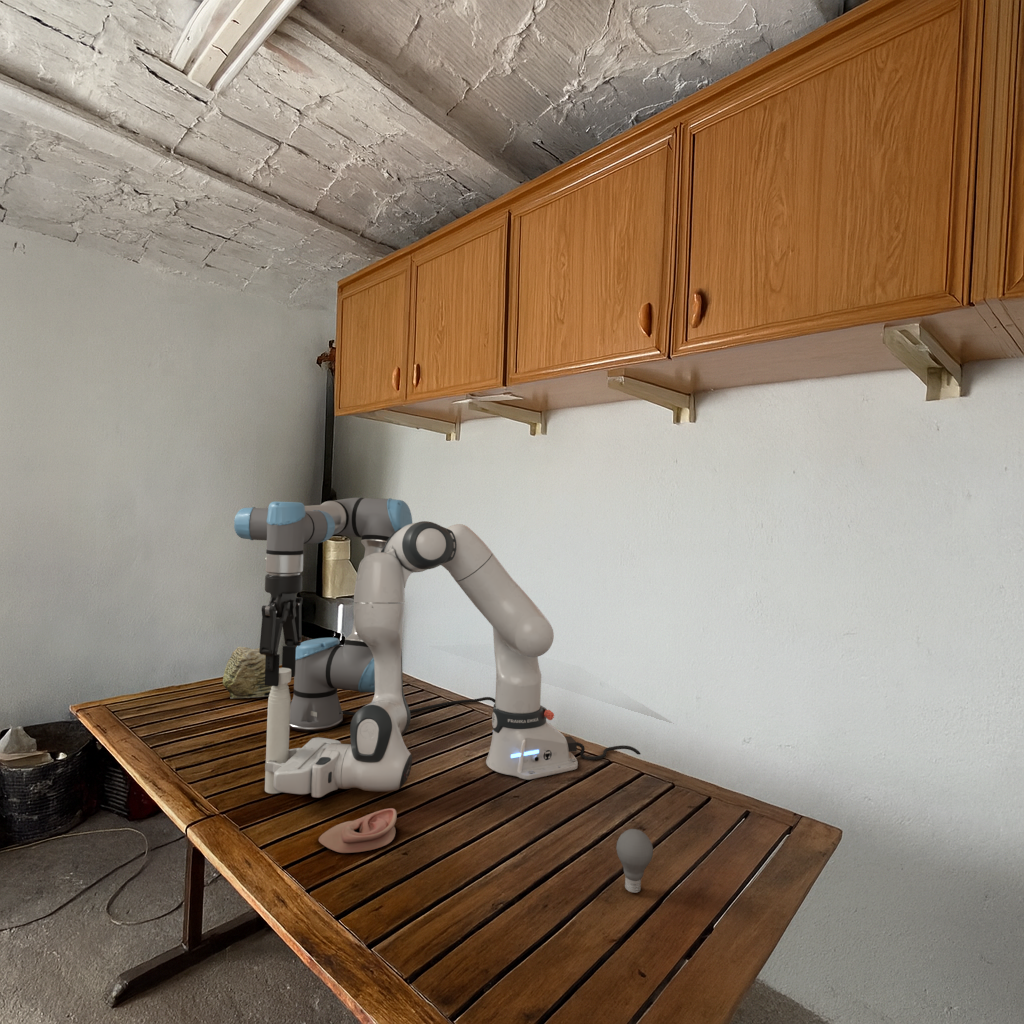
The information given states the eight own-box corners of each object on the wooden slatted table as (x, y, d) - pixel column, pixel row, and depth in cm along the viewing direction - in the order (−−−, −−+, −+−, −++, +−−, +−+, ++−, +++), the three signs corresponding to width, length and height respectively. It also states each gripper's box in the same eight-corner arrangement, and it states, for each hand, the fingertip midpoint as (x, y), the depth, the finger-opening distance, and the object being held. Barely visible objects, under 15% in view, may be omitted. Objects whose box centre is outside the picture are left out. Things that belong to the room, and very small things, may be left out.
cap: (264, 682, 135) (264, 670, 135) (280, 677, 139) (281, 666, 139) (279, 685, 133) (279, 674, 133) (295, 680, 137) (295, 669, 137)
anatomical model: (310, 826, 114) (340, 797, 125) (309, 848, 114) (339, 817, 125) (379, 837, 111) (403, 806, 122) (378, 859, 111) (403, 827, 123)
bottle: (291, 785, 138) (295, 671, 138) (279, 795, 134) (283, 676, 133) (273, 782, 139) (277, 669, 139) (260, 791, 135) (264, 674, 134)
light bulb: (610, 879, 108) (613, 822, 108) (644, 879, 109) (647, 822, 109) (619, 902, 102) (622, 840, 102) (655, 901, 103) (658, 840, 103)
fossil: (218, 695, 195) (220, 647, 195) (278, 685, 208) (279, 640, 207) (228, 703, 189) (230, 653, 188) (289, 692, 201) (290, 645, 201)
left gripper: (289, 568, 146) (285, 667, 146) (242, 577, 126) (238, 692, 127) (320, 569, 145) (316, 669, 145) (278, 580, 125) (273, 695, 126)
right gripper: (352, 733, 145) (294, 728, 147) (316, 770, 125) (250, 764, 126) (351, 760, 146) (293, 755, 147) (315, 802, 125) (248, 795, 126)
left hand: (280, 680), depth 136 cm, fingers open, 7 cm apart
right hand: (273, 759), depth 136 cm, fingers closed on bottle, 4 cm apart
